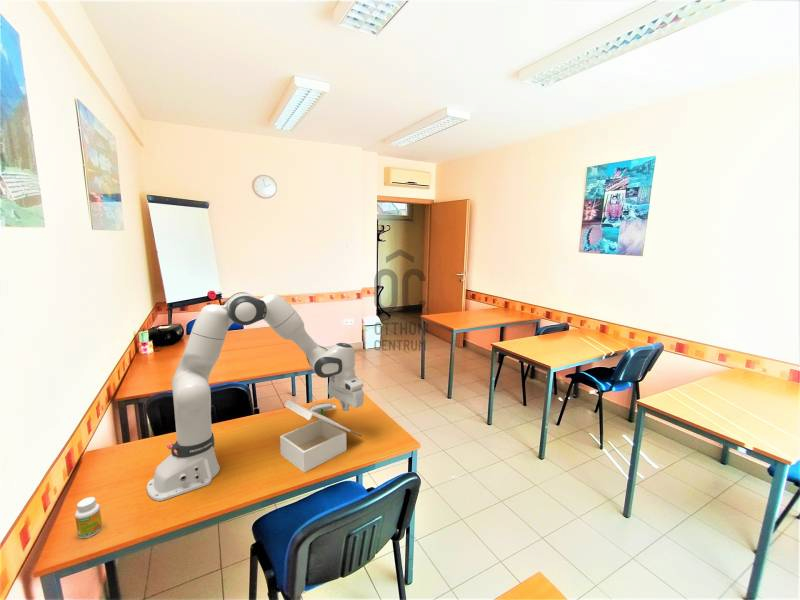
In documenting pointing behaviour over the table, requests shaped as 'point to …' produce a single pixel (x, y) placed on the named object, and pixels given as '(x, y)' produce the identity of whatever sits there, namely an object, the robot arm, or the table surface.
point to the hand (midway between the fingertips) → (345, 410)
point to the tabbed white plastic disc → (322, 407)
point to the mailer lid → (308, 415)
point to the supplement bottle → (88, 518)
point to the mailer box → (313, 444)
